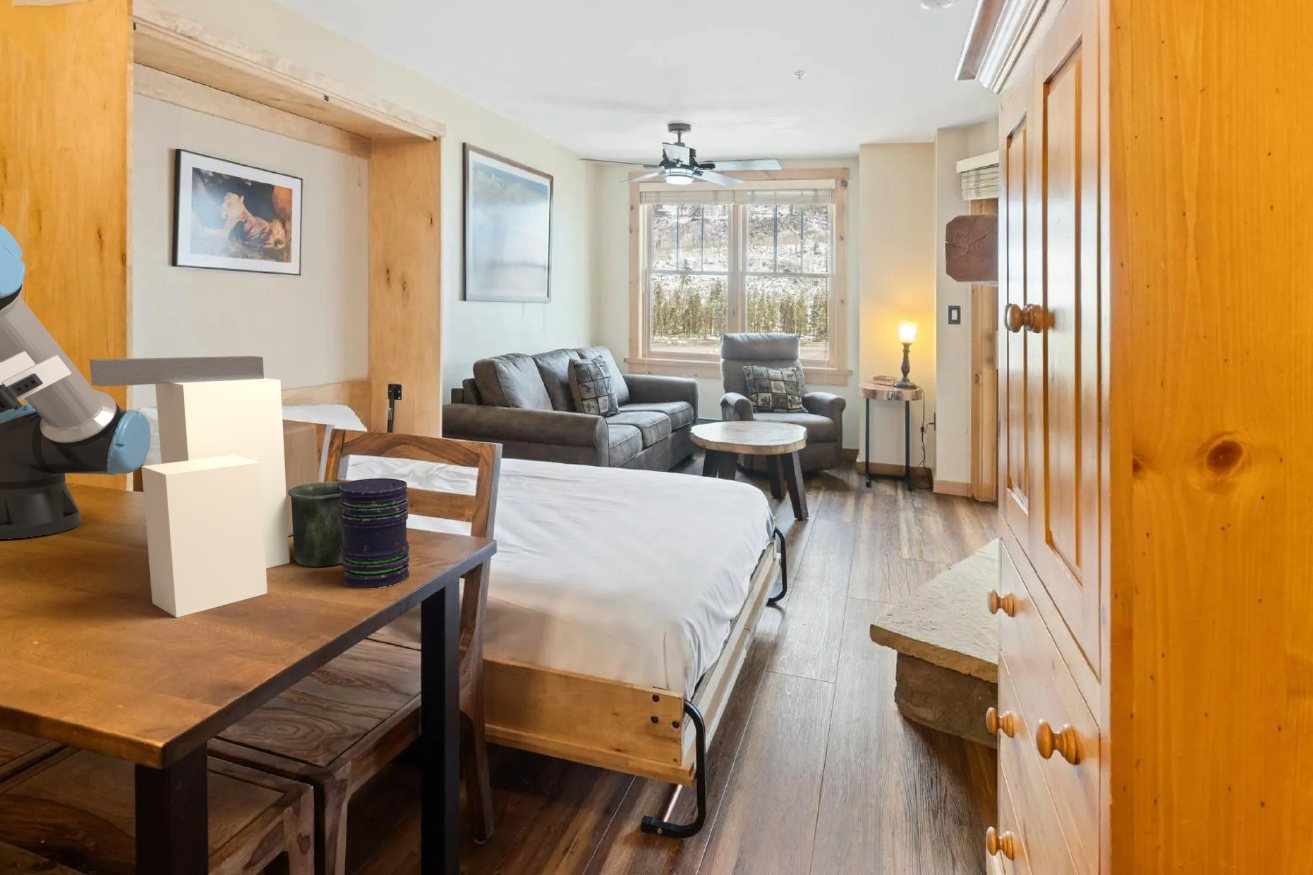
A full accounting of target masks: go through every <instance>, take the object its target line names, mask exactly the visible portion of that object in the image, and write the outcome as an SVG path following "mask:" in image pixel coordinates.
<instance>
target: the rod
mask: <svg viewBox="0 0 1313 875" xmlns="http://www.w3.org/2000/svg"><path fill="white" fill-rule="evenodd" d="M89 371H90V382H91V386H95V387H116V386H117V387H119V386H120V387H122V386H141V385H142V386H143V385H155V384H167V383H189V382H211V381H233V380H254V379H264V378H265V374H264V372H265V371H264V357H263V356H256V355H241V356H240V355H238V356H237V355H233V356H230V355H229V356H227V355H226V356H195V357H194V356H193V357H192V356H189V357H188V356H187V357H184V356H182V357H151V358H150V357H148V358H147V357H145V358H144V357H143V358H142V357H141V358H140V357H138V358H136V357H135V358H103V359H101V358H97V359H92V358H91V359H89Z"/></svg>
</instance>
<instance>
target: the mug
mask: <svg viewBox="0 0 1313 875" xmlns="http://www.w3.org/2000/svg"><path fill="white" fill-rule="evenodd" d="M346 482H347V481H321V482H320V481H319V483H311V484H305V485H300V486H297V487H294V488H292V489H290V490H289V491H288V495H289V496H291V505H292V524H293V535H292V538H293V539H292V541H293V542H292V544H293V558H294V561H295V562H296V563H297V564H298V565H301V566H305V567H314V568H315V567H316V568H317V567H332V566H338V565H342V553H341V551H342V546H343V545H344V538H343V524H342V523H341V519H340V516H341V511H340V502H341V501H340V495H341V493H340V485H342V484H343V483H346Z"/></svg>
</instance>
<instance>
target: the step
mask: <svg viewBox="0 0 1313 875" xmlns="http://www.w3.org/2000/svg"><path fill="white" fill-rule="evenodd" d="M141 476H142V489H143V500H144V501H143V503H144V512H145V513H144V514H145V526H146V528H145V529H146V538H147V539H146V540H147V550H148V551H147V552H148V564H149V565H148V566H149V573H150V574H149V575H150V576H149V577H150V588H151V589H150V590H151V600H152V604H153V605H155V606H157V607H158V608H159V609H161V610H163V611H165V612H166V613H167V614H170V615H171V616H172V617H175V619H176V618H181V617H185V616H188V615H192V614H195V613H199V612H203V611H206V610H210V609H211V610H212V609H214V608H217V607H218V608H219V607H221V606H225V605H228V604H229V605H230V604H232V603H237V602H240V601H245V600H248V599H251V598H255V597H258V596H263V595H266V594H268V583H267V582H268V580H267V568H266V561H265V543H264V525H263V507H262V490H261V472H260V462H257V461H253V460H250V459H246V458H242V457H239V456H235V455H231V456H222V457H214V458H206V459H198V460H189V461H181V462H173V463H164V464H161V463H157V464H148V465H141Z"/></svg>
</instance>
